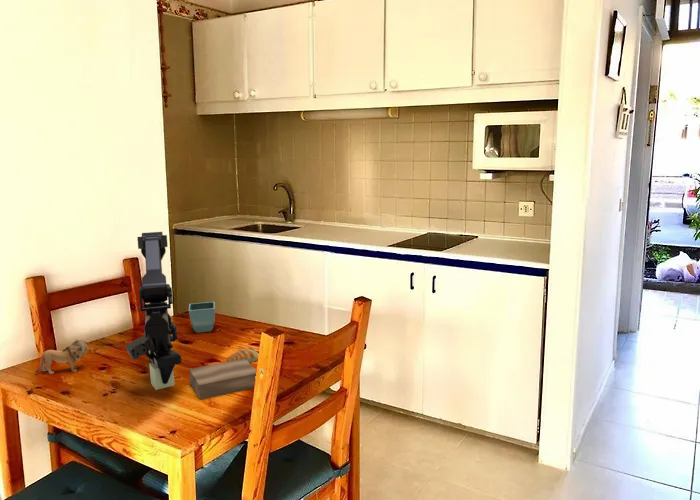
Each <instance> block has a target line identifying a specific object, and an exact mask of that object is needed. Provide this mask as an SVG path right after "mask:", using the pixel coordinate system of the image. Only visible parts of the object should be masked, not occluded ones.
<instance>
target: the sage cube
mask: <svg viewBox="0 0 700 500" xmlns="http://www.w3.org/2000/svg"><path fill="white" fill-rule="evenodd" d="M148 367H149V375H150V384H151V385H152V386H153V388H154V389H155V391H157V390H158V391H159V390H162V389H165V388H169V387H174V386H175V375H174V369H173V370H172V373H171V375H170V378H169V380H168V383H167V384H163V382H162V379H161V375H160V371H159V368H157V367H156V366H155V365H154V364H153V363H152V362H149V366H148Z"/></svg>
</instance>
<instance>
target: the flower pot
mask: <svg viewBox="0 0 700 500" xmlns="http://www.w3.org/2000/svg"><path fill="white" fill-rule="evenodd" d="M215 305H216V302H215V301H206V302H196V303H189V304H188V314H189V315H188V316H189V319H190V324H191V326H192V327H191V328H192V329H193V330H194V331H195V333H196V334H197V333H198V334H199V333H206V332H211V331H212V330H213V328H214V325H215V317H216V306H215Z"/></svg>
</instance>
